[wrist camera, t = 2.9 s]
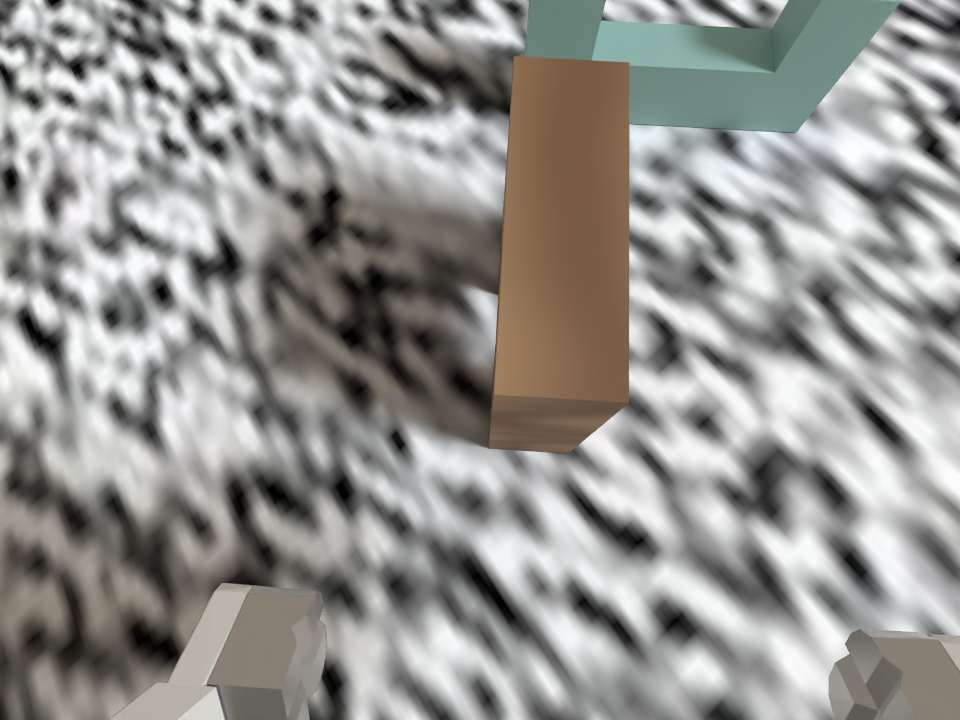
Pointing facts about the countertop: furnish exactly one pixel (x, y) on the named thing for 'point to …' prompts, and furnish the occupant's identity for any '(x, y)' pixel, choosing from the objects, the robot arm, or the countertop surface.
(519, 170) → the brown arch block
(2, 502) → the countertop surface
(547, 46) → the teal bracket
